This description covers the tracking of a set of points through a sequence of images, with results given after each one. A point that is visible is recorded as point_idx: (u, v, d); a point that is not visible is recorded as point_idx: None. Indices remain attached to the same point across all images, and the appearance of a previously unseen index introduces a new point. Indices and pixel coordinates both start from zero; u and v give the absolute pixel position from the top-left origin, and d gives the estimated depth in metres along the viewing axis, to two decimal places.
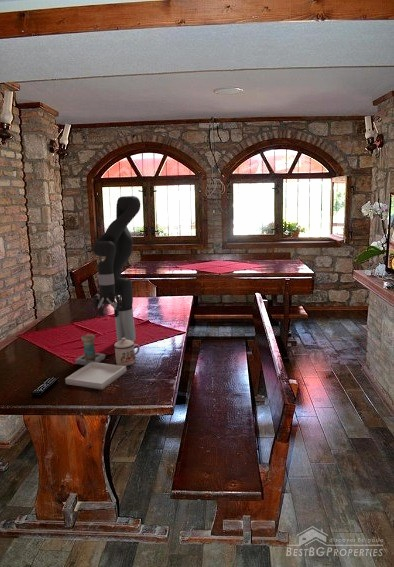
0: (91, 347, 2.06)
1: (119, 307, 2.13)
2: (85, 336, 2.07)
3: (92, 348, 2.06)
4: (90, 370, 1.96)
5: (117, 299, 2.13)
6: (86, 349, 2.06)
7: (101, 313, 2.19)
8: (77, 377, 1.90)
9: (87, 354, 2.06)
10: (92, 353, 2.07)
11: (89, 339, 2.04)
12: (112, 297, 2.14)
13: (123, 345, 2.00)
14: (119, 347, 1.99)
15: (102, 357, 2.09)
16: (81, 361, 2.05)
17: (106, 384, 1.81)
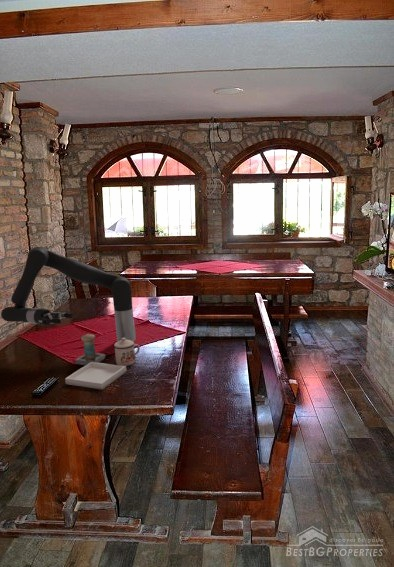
0: (91, 347, 2.06)
1: (47, 324, 2.05)
2: (85, 336, 2.07)
3: (92, 348, 2.06)
4: (90, 370, 1.96)
5: None
6: (86, 349, 2.06)
7: (69, 316, 2.13)
8: (77, 377, 1.90)
9: (87, 354, 2.06)
10: (92, 353, 2.07)
11: (89, 339, 2.04)
12: None
13: (123, 345, 2.00)
14: (119, 347, 1.99)
15: (102, 357, 2.09)
16: (81, 361, 2.05)
17: (106, 384, 1.81)
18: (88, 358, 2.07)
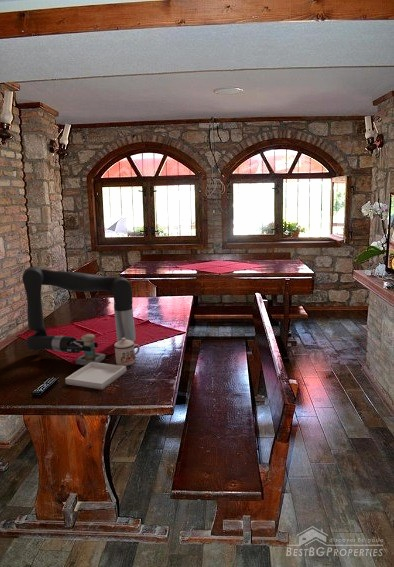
0: (91, 347, 2.06)
1: (77, 352, 2.04)
2: (85, 336, 2.07)
3: (92, 348, 2.06)
4: (90, 370, 1.96)
5: None
6: None
7: (94, 345, 2.09)
8: (77, 377, 1.90)
9: (87, 354, 2.06)
10: (92, 353, 2.07)
11: (89, 339, 2.04)
12: None
13: (123, 345, 2.00)
14: (119, 347, 1.99)
15: (102, 357, 2.09)
16: (81, 361, 2.05)
17: (106, 384, 1.81)
18: (88, 358, 2.07)
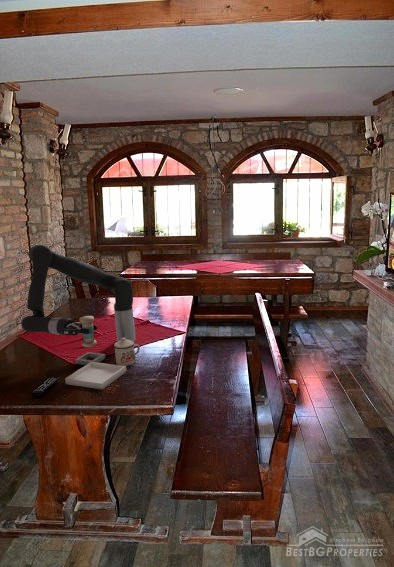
0: (90, 329, 1.93)
1: None
2: (83, 318, 1.93)
3: (91, 330, 1.93)
4: (90, 370, 1.96)
5: None
6: None
7: (94, 328, 1.96)
8: (77, 377, 1.90)
9: (85, 337, 1.93)
10: (91, 336, 1.93)
11: (88, 321, 1.91)
12: None
13: (123, 345, 2.00)
14: (119, 347, 1.99)
15: (102, 357, 2.09)
16: (81, 361, 2.05)
17: (106, 384, 1.81)
18: (86, 341, 1.94)
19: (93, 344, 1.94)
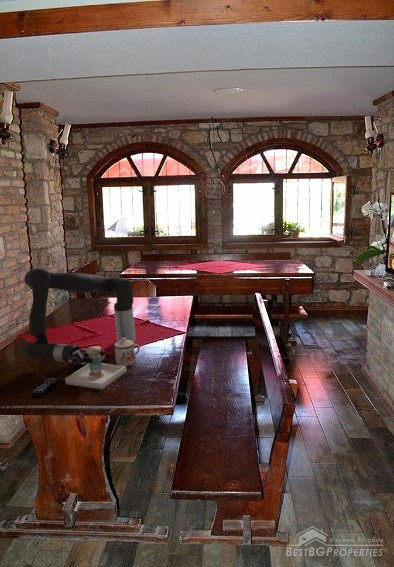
0: (97, 361, 1.87)
1: (78, 364, 1.83)
2: (90, 348, 1.88)
3: (98, 361, 1.87)
4: (90, 370, 1.96)
5: None
6: (91, 363, 1.87)
7: (101, 354, 1.92)
8: (77, 377, 1.90)
9: (93, 368, 1.87)
10: (98, 367, 1.88)
11: (95, 352, 1.85)
12: None
13: (123, 345, 2.00)
14: (119, 347, 1.99)
15: (102, 357, 2.09)
16: None
17: (106, 384, 1.81)
18: (94, 373, 1.88)
19: (100, 375, 1.88)
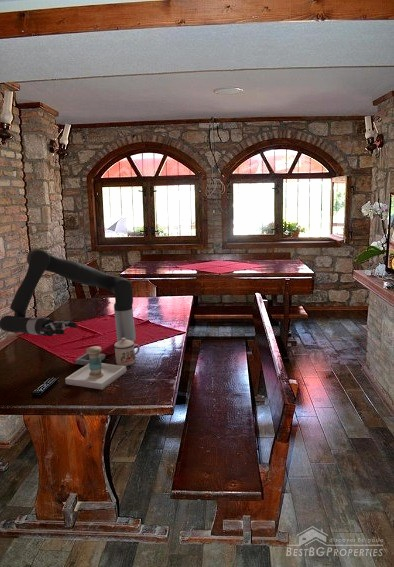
0: (97, 361, 1.87)
1: None
2: (90, 349, 1.88)
3: (98, 362, 1.87)
4: (90, 370, 1.96)
5: None
6: (92, 363, 1.87)
7: (73, 326, 1.94)
8: (77, 377, 1.90)
9: (93, 368, 1.87)
10: (98, 367, 1.88)
11: (95, 352, 1.85)
12: None
13: (123, 345, 2.00)
14: (119, 347, 1.99)
15: (102, 357, 2.09)
16: (81, 361, 2.05)
17: (106, 384, 1.81)
18: (94, 373, 1.88)
19: (100, 376, 1.88)
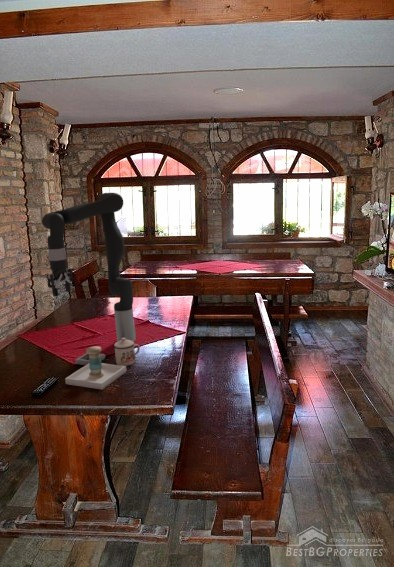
0: (97, 361, 1.87)
1: (48, 286, 1.97)
2: (90, 349, 1.88)
3: (98, 362, 1.87)
4: (90, 370, 1.96)
5: None
6: (91, 363, 1.87)
7: (66, 289, 2.08)
8: (77, 377, 1.90)
9: (93, 368, 1.87)
10: (98, 367, 1.88)
11: (95, 352, 1.85)
12: None
13: (123, 345, 2.00)
14: (119, 347, 1.99)
15: (102, 357, 2.09)
16: (81, 361, 2.05)
17: (106, 384, 1.81)
18: (94, 373, 1.88)
19: (100, 376, 1.88)
